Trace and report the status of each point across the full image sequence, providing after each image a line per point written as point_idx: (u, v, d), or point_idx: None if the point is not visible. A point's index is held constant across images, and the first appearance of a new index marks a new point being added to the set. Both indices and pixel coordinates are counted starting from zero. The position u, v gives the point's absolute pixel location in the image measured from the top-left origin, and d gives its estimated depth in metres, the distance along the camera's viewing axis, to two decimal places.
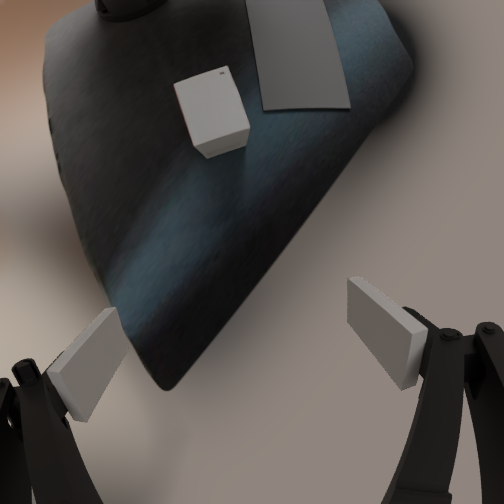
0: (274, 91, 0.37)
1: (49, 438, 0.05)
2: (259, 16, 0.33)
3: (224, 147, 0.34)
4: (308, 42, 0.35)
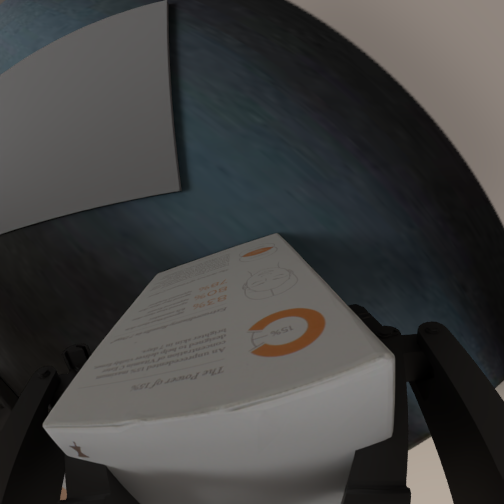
0: (128, 166, 0.15)
1: None
2: None
3: None
4: (18, 109, 0.13)
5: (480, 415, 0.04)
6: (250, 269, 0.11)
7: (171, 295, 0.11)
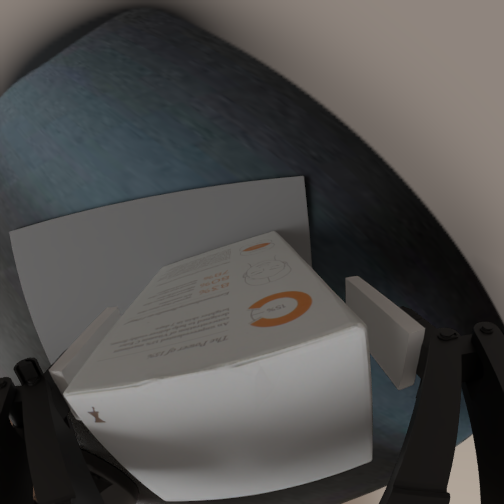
0: None
1: (51, 437, 0.05)
2: None
3: None
4: (131, 274, 0.18)
5: None
6: (250, 261, 0.12)
7: (178, 284, 0.12)
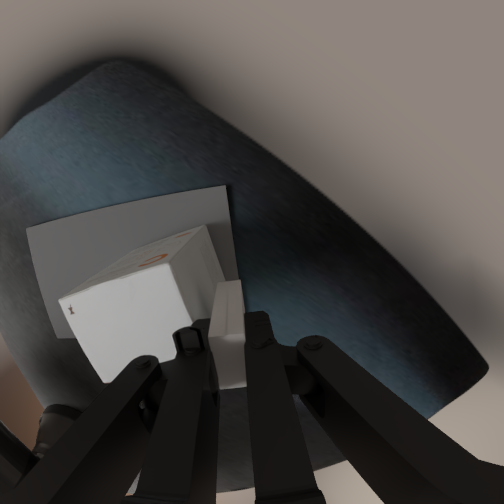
0: None
1: (190, 423, 0.06)
2: None
3: (210, 275, 0.20)
4: (113, 256, 0.26)
5: (389, 430, 0.05)
6: (169, 243, 0.20)
7: (130, 256, 0.20)
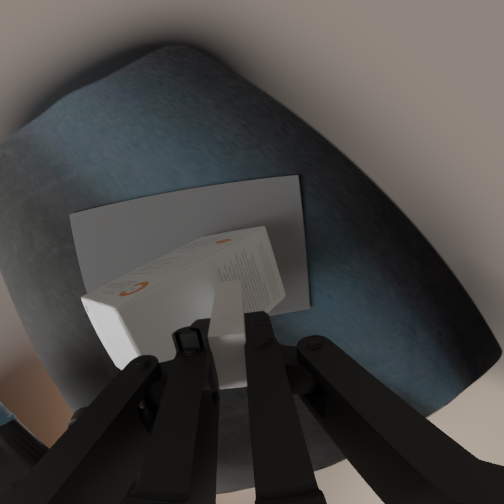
0: None
1: (190, 423, 0.06)
2: None
3: None
4: (178, 243, 0.26)
5: (390, 430, 0.05)
6: (193, 254, 0.19)
7: (167, 257, 0.21)
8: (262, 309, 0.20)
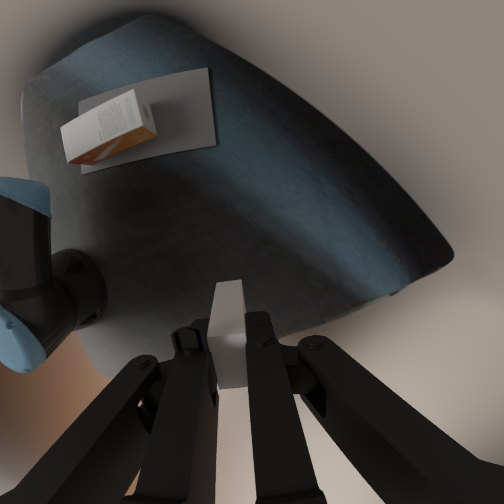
0: (196, 136, 0.40)
1: (189, 423, 0.06)
2: None
3: (101, 123, 0.31)
4: None
5: (390, 430, 0.05)
6: None
7: None
8: (120, 130, 0.32)
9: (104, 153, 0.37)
